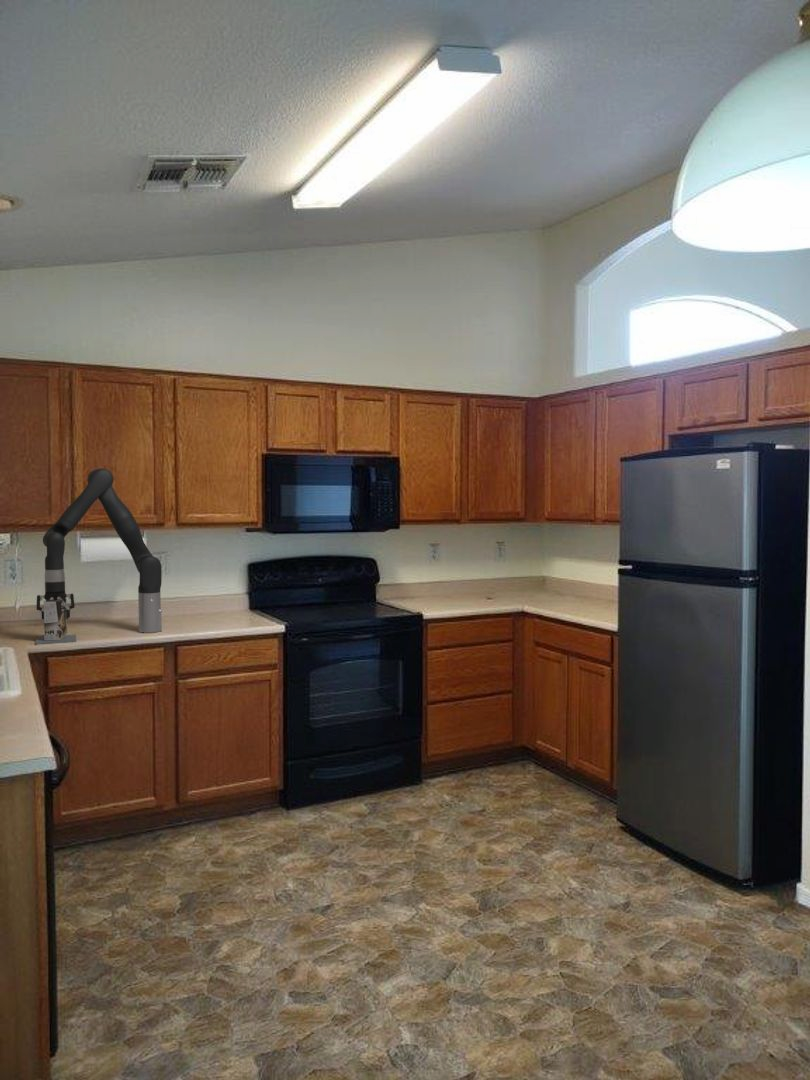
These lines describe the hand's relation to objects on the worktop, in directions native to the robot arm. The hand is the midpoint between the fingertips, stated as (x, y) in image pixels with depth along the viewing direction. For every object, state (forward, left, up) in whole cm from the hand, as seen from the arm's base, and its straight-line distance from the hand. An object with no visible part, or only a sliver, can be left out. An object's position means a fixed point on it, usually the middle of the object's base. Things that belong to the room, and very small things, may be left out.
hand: (56, 619), depth 321 cm
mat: (0, 0, -9) cm, 9 cm away
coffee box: (0, 0, -8) cm, 8 cm away
